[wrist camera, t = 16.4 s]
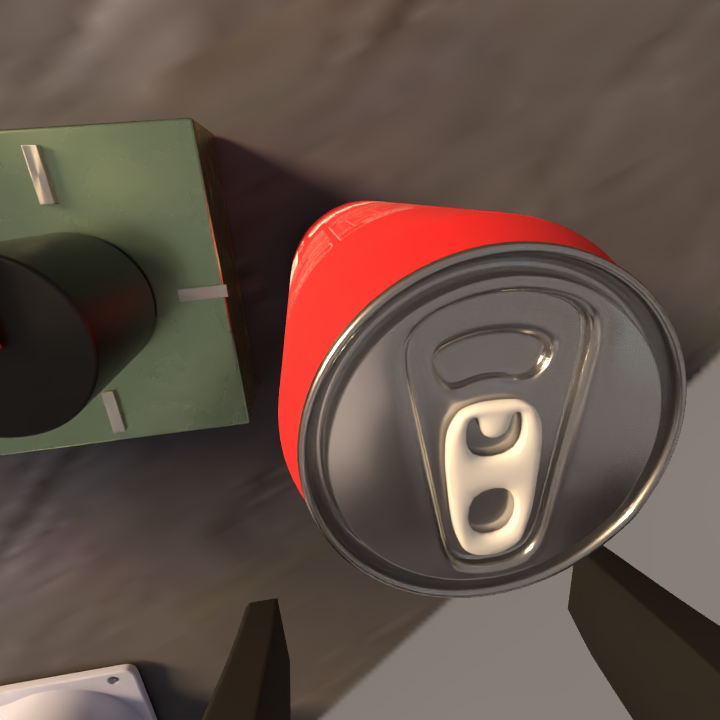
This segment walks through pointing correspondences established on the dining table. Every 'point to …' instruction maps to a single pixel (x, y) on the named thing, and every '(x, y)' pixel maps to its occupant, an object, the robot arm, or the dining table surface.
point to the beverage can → (471, 394)
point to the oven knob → (65, 326)
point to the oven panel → (142, 267)
